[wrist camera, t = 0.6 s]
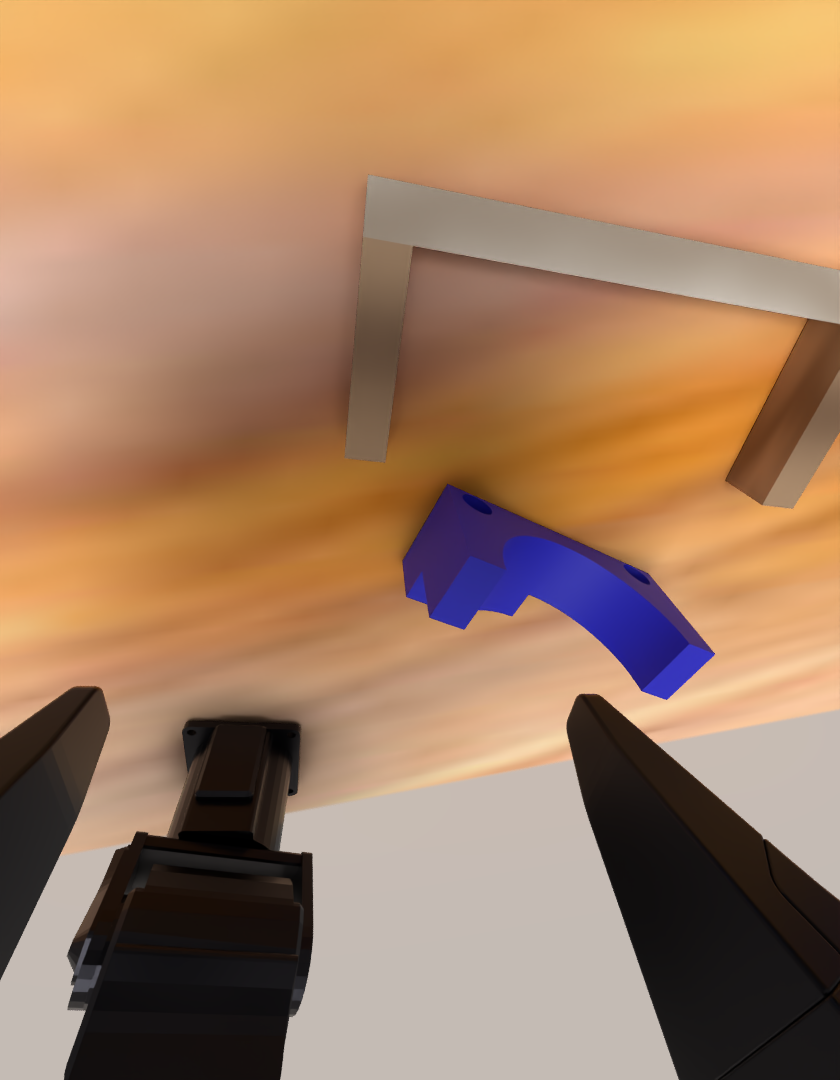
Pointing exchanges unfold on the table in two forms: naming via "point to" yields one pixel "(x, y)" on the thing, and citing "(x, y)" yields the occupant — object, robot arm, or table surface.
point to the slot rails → (613, 256)
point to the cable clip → (548, 587)
